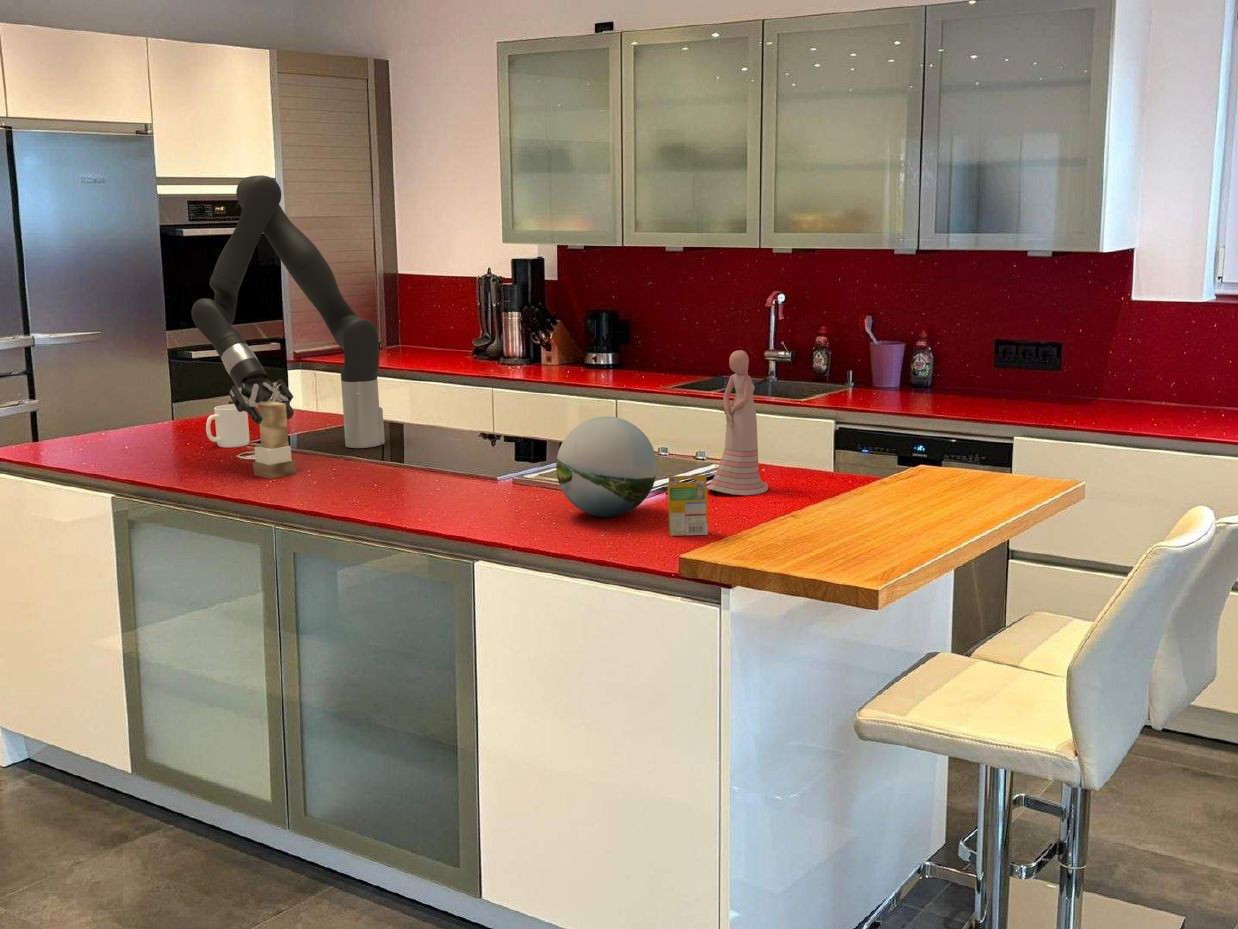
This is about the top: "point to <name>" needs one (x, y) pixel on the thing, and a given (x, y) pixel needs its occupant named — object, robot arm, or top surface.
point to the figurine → (739, 436)
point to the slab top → (272, 455)
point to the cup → (229, 427)
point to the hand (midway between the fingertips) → (275, 419)
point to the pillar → (273, 425)
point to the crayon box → (687, 506)
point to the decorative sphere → (606, 466)
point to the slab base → (274, 469)
